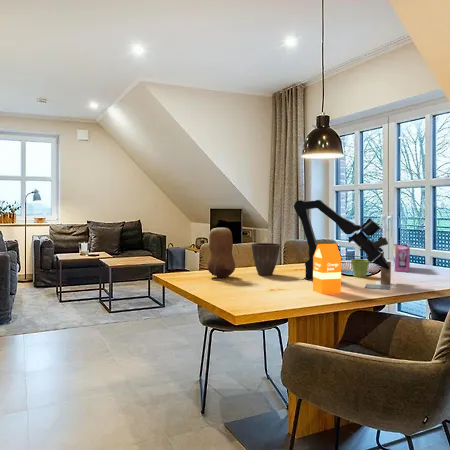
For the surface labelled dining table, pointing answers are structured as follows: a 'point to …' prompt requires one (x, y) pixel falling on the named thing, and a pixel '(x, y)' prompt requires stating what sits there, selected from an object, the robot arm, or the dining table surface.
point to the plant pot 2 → (359, 267)
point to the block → (386, 274)
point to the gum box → (401, 258)
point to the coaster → (377, 286)
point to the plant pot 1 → (265, 257)
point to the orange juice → (327, 269)
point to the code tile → (382, 284)
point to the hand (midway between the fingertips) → (389, 268)
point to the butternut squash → (221, 253)
